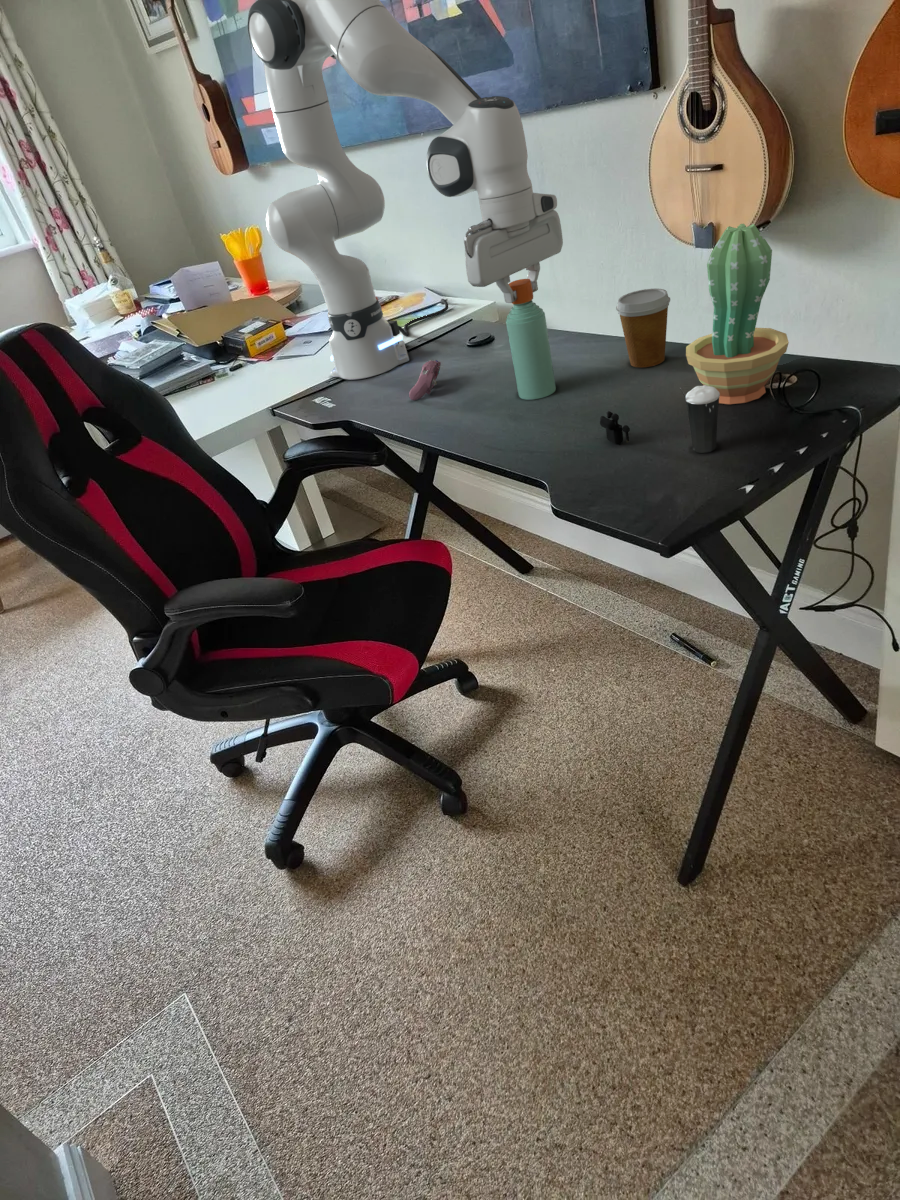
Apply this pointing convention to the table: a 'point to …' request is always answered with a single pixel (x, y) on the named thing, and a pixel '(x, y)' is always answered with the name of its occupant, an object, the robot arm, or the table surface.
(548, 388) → the bottle
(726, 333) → the potted cactus
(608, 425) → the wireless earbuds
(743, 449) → the table surface
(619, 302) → the disposable coffee cup
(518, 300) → the cap
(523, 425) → the table surface
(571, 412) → the table surface
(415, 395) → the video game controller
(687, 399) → the glass of dark beer
